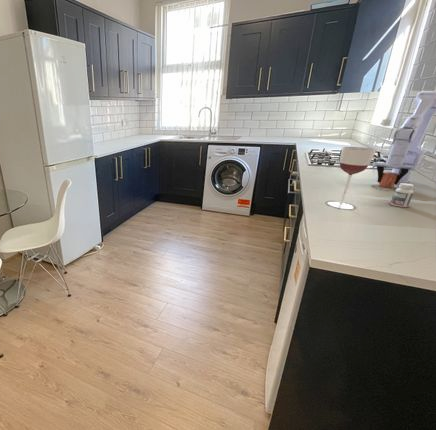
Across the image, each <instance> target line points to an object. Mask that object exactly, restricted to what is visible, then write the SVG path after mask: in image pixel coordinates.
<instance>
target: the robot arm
mask: <svg viewBox="0 0 436 430" xmlns="http://www.w3.org/2000/svg"><path fill="white" fill-rule="evenodd" d="M414 108H415V109H414V112H413V113H412V115H409V116H408V117H407V118H406V119H405V121H404V122H403V123H402V125H401V126H400V128H399V129H398V128H397V129H396V130H395V132H394V134H393V137H392V142H391V148H390V151H389V154H388V156H387V158H386V161H385V162H377V161H376V162H375V161H373V163H372V168H376V171H377V183H378V184H379V183H380V180H381V176H382V174H383V172H385V169H392V170H391V172H393V173H397V174H398V177H397V179H396V182H395V185H396V186H397V185H398V184H400V183H407V184H409V181H410V178H411V176H412V173H413V171H415V169H416V167H418V166H419V165H420V164H421V162H422V160H423V157H424V154H425V152H424V150H423V149H422V148H421V147H420V145H421V143H422V141H423V139H424V137H425V134H426V133H427V130H428V128H429V126H430V123H432V122H431V121H432V120H433V118H434V116H435V115H436V90H434V91H431V90H429V91H423V90H422V91H420V92H418V93H417V95H416V97H415V100H414Z"/></svg>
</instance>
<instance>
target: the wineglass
mask: <svg viewBox="0 0 436 430" xmlns="http://www.w3.org/2000/svg"><path fill="white" fill-rule="evenodd" d="M376 150H377V149H375V148H371V147H361V146H342V148H341V153H340V157H339V167H340V169H341V171H343V172H345V173H346V174H347V175H348V176H347V179H346V183H345V184H344V185H345V186H344V188H343V191H342V194H341V198H340V201H329V202H327V205H329V206H330V207H333V208H335V209H336V208H337V209H342V210H353V209H355V208H354V206H353V205H351V204H349V203H345V202H344V201H345V197H346V194H347V191H348V188H349V185H350V181H351V179H352V176H353V175H356V174H360V173H362V172H364V171H365V170H366V169H367V168H368V167H369V165H370V163H371V162H372V159H373V158H374V156H375V153H376V152H377V151H376Z"/></svg>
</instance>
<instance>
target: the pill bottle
mask: <svg viewBox="0 0 436 430" xmlns="http://www.w3.org/2000/svg"><path fill="white" fill-rule="evenodd" d="M414 187H415V185H414V184H412V183H399V186H398V187H397V188H396V189H395V190H394V192H393V195H392V198H391V201H390V205H391V206H395V207H399V208H408V207H409V205H410V204H411V203H410V202H411V200H412V198H413V195H414V190H413V189H414Z"/></svg>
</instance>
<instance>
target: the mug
mask: <svg viewBox="0 0 436 430" xmlns="http://www.w3.org/2000/svg"><path fill="white" fill-rule="evenodd" d="M397 177H398V174H397V173H393V172H392V171H384V172H383V174H382V176H381V180H380V183H379V182H378V184H377V186H378V187H381V188H387V189H393V188H394V187H395V185H396V184H395V182H396V179H397Z"/></svg>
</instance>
